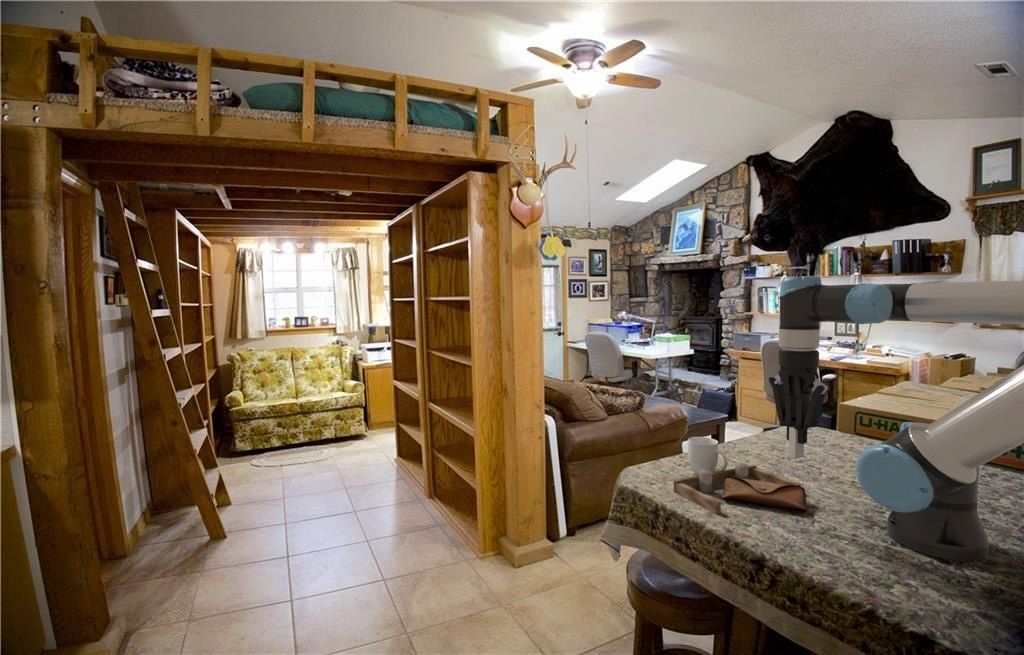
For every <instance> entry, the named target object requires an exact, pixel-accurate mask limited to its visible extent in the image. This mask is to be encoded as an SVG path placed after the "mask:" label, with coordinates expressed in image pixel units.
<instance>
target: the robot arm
mask: <svg viewBox="0 0 1024 655" xmlns="http://www.w3.org/2000/svg"><path fill="white" fill-rule="evenodd" d="M778 300H779V325H778V327H779V329H778V346H779V347H780V349H779V350H778V360H777V362H778V366H780V367H779V370H778V374H777V375H775V376H771V377H769V378H768V382H769V384H770V385H771V388H772V394H773V399H774V403H775V408H776V409H775V410H776V416H777V419H778V421H779V422H782V423H784V424H785V426H786V436H785V437H786V440H787V441H788V458H792V459H800V458H805V445H806V444H807V442H808V429H811V428H817V426H818V423H819V421H820V420H819V419H820V416H821V412H822V408H823V406H824V402H825V398H826V395H827V394H828V393H829V391H830V390H831V385H829V384H825V383H824V382H822V381H821V380H820V377H819V374H818V368H819V366H820V352H819V350H817V349H818V348H819V347H820V334H821V333H820V332H821V331H820V329H821V326H820V325H821V323H847V324H849V323H850V324H859V325H865V324H866V325H868V324H870V325H871V324H883V323H884V322H888V321H889V322H890V321H891V322H931V323H934V322H935V323H936V322H937V323H961V324H963V323H965V324H996V325H998V324H999V325H1023V326H1024V280H994V281H993V280H992V281H990V280H989V281H965V282H964V281H959V282H957V281H956V282H927V283H926V282H925V283H924V282H922V283H920V282H919V283H883V284H880V283H879V284H878V283H877V284H876V283H854V284H850V283H849V284H835V285H834V284H833V285H830V284H829V285H827V284H823V283H822V280H821V277H820V276H817V275H808V276H807V275H804V276H787V277H784V278H782V279H781V281H780V288H779V296H778ZM1022 444H1024V364H1023V365H1022V366H1019V367H1018V368H1017V369H1015V370H1014V371H1012V372H1011V373H1009V374H1007V375H1006V376H1004V377H1002V378H1001V379H999V380H998V381H996V382H994V383H993V384H991V385H990V386H988V387H986V388H985V389H984V390H982V391H980V392H979V393H977V394H976V395H974V396H972V397H971V398H970V399H968V400H966V401H965V402H963V403H961V404H960V405H958V406H956V407H955V408H954V409H952V410H950V411H949V412H947V413H946V414H944V415H942V416H941V417H939V418H937V419H936V420H935V421H933V422H931V423H924V422H915V421H913V422H912V421H905V422H903V423H901V425H900V429H899V431H898V432H897V433H896V434H894V435H892V436H891V437H889V438H888V439H887V440H885V441H882V442H881V443H878V444H875V445H871V446H869V447H867V448H866V449H865V450H864V451H862V452H861V453H860V455H859V456H858V458H857V461H856V465H855V467H856V468H855V469H856V477H857V479H858V480H857V481H858V482H859V484H860V487H861V488H862V489H863V490H864V492H865V493H866V495H867V496H869V498H871V499H872V500H873V501H874V502H875V503H877V504H878V505H880V506H882V507H884V508H885V509H888V510H890V513H889V515H888V518H887V521H886V532H887V534H888V535H889V537H891V538H892V539H893V540H894V541H896V542H898V543H899V544H901V545H903V546H905V547H907V548H909V549H912V550H914V551H916V552H920V553H922V554H926V555H930V556H933V557H935V558H942V559H946V560H952V561H958V562H959V561H961V562H978V561H982V560H985V559H987V558H988V557H989V554H990V553H989V550H990V549H989V548H990V542H989V539H988V536H987V534H986V532H985V529H984V526H983V524H982V521H981V518H980V516H979V513H978V499H979V498H978V497H979V478H980V477H979V476H980V475H979V473H980V470H979V469H980V466H982V465H984V464H986V463H988V462H990V461H992V460H994V459H996V458H998V457H999V456H1002V455H1004V454H1005V453H1007V452H1009V451H1010V450H1013V449H1015V448H1016V447H1018V446H1020V445H1022Z"/></svg>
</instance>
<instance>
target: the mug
mask: <svg viewBox="0 0 1024 655" xmlns="http://www.w3.org/2000/svg"><path fill="white" fill-rule="evenodd" d="M719 455H720V456H721V457H722V458H723V467H722V468H720V469H717V465H718V462H719V461H718V460H719ZM687 456H688V457H687V459H688V462H689V466H690V468H691V471H692V473H693V474H694V475H695V476H697V475H699V471H700V470H710V471H712V473H713V472H718V471H724V470H727V467H728V458H727V455H726V454H725V453H724V451H722V450H720V449H719V441H718V440H717V439H714V438H711V437H706V436H705V437H704V436H693V437H689V438H688V439H687Z"/></svg>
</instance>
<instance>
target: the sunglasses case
mask: <svg viewBox="0 0 1024 655" xmlns="http://www.w3.org/2000/svg"><path fill="white" fill-rule="evenodd" d="M806 495H807V493H806V489H805V488H804V487H803V486H797V485H784V484H777V483H771V482H765V481H762V480H756V479H749V478H748V479H742V478H739V477H734V476H727V477H725V479H724V483H723V489H722V495H721V498H723V499H733V500H739V501H744V502H749V503H750V502H751V503H755V504H762V505H766V506H772V507H777V508H784V509H785V508H786V509H798V510H808V508H807V507H808V504H807V496H806Z"/></svg>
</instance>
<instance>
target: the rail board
mask: <svg viewBox="0 0 1024 655" xmlns="http://www.w3.org/2000/svg"><path fill="white" fill-rule="evenodd" d="M734 465H735V468H730V469H725V470H724V471H718V472H713V473H712V471H710V470H700V471H699V475H693V476H687V477H682V478H677V479H673V493H675V494H678V495H679V496H681V497H683V498H685V499H687V500H689V501H690V502H693V503H694V504H697V505H698V506H700V507H701V508H704V509H706V510H707V511H709V512H710V513H713V514H720V513H722V512H721V510H722V508H721V506H722V505H721V504H722V502H721V501H719V500H717V499H715V498H713V497H711V496H710V495H709V494H711V493H713V487H714V486H718V485H722V484H723V485H724V479H725V477H727V476H734V477H739V478H742V479H749V478H751V477H753V478H755V479H758V480H759V481H764V482H771V483H777V484H784V485H797V486H801V483H798V482H795V481H794V480H793V481H792V480H791V479H788V478H785V477H782V476H780V475H777V474H774V473H771V472H769V471H766V470H764V469H761V468H758V467H757V465H755V464H752V465H748V464H746V463H743V462H737V463H735V464H734ZM801 487H802V486H801ZM698 489H699V490H698Z"/></svg>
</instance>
